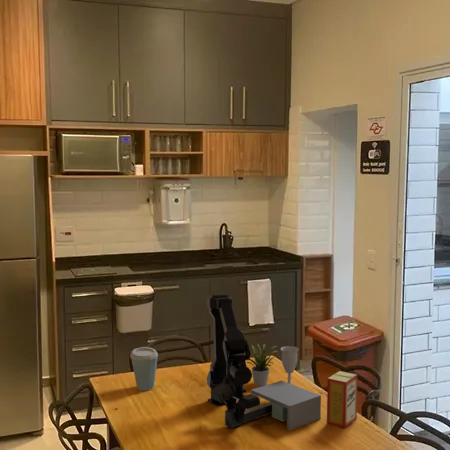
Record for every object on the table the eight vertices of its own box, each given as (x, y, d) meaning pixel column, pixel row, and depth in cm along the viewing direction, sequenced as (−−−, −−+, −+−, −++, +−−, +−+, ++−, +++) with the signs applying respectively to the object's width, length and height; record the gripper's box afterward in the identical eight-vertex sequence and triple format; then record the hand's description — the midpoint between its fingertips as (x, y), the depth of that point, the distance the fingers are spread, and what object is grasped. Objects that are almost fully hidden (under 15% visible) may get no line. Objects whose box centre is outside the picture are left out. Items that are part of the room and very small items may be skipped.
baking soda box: (344, 428, 203) (345, 381, 202) (326, 423, 207) (327, 377, 206) (356, 419, 211) (357, 373, 210) (339, 414, 215) (339, 369, 213)
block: (271, 416, 213) (272, 402, 213) (282, 412, 216) (282, 399, 216) (282, 421, 209) (282, 406, 209) (292, 417, 213) (292, 403, 212)
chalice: (297, 399, 228) (297, 352, 227) (278, 398, 230) (279, 351, 228) (298, 392, 236) (299, 346, 234) (281, 391, 237) (281, 345, 235)
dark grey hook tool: (224, 425, 204) (225, 410, 204) (276, 407, 221) (276, 393, 221) (243, 433, 198) (243, 418, 197) (294, 414, 215) (294, 400, 214)
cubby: (250, 412, 216) (250, 389, 216) (281, 402, 226) (281, 380, 225) (289, 430, 202) (289, 406, 201) (320, 418, 211) (320, 395, 210)
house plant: (287, 382, 247) (288, 342, 245) (271, 393, 235) (271, 351, 234) (256, 376, 254) (257, 337, 253) (239, 385, 243) (239, 345, 241)
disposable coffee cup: (163, 389, 239) (163, 351, 237) (138, 395, 233) (137, 356, 231) (150, 381, 248) (150, 344, 246) (126, 386, 242) (125, 349, 240)
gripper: (198, 372, 206) (198, 417, 207) (234, 387, 191) (234, 436, 193) (224, 365, 213) (224, 409, 214) (261, 379, 198) (260, 426, 200)
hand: (234, 419), depth 205 cm, fingers closed on dark grey hook tool, 3 cm apart
